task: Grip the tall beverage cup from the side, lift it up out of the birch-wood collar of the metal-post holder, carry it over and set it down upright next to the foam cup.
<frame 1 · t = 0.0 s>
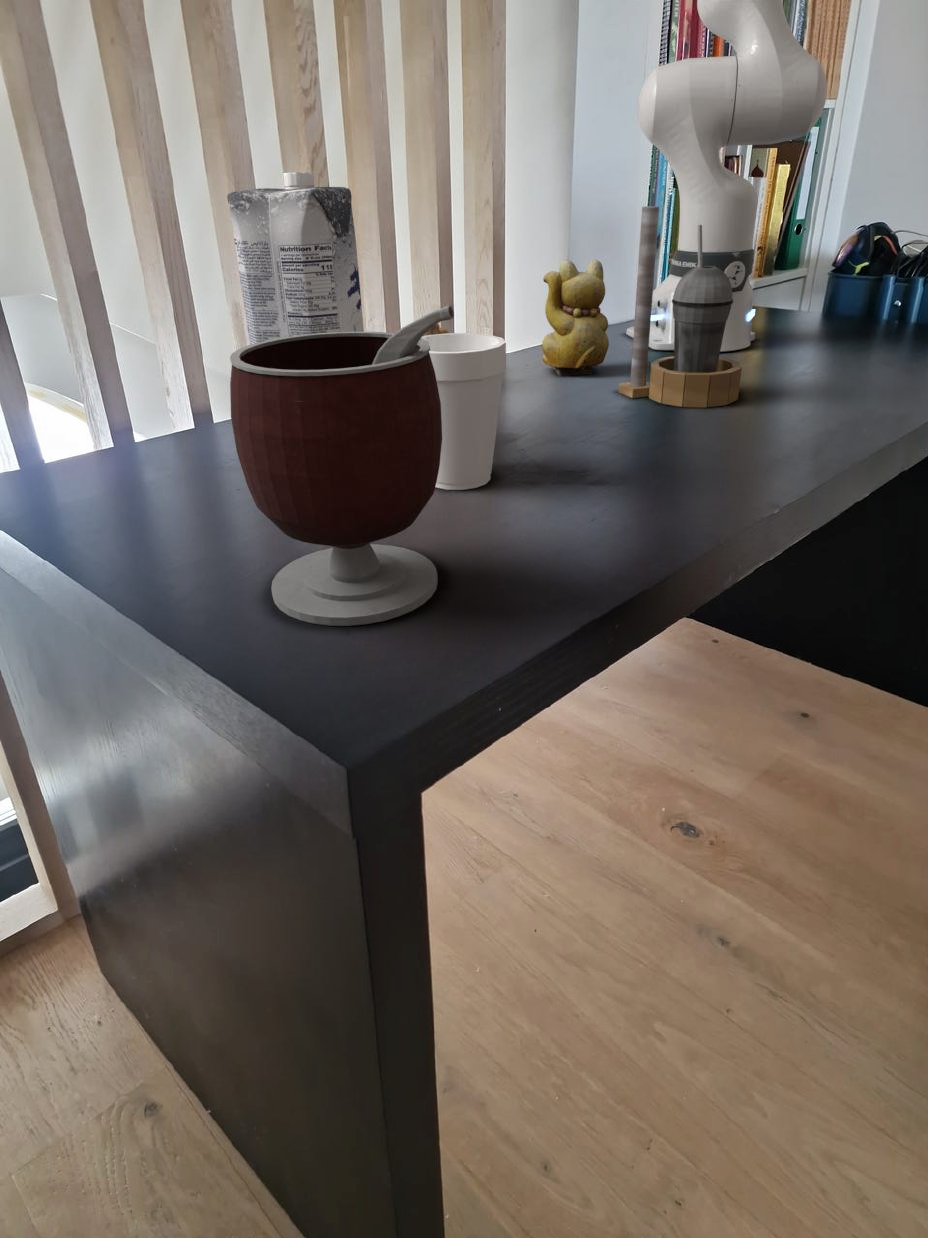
holder: (692, 396, 107), on the table
decorative figurine: (576, 373, 120), on the table
beverage cup: (692, 397, 107), resting in holder
lion figurine: (437, 382, 118), on the table
juice carton: (321, 455, 90), on the table
foam cup: (458, 480, 82), on the table
mate gourd: (365, 589, 62), on the table
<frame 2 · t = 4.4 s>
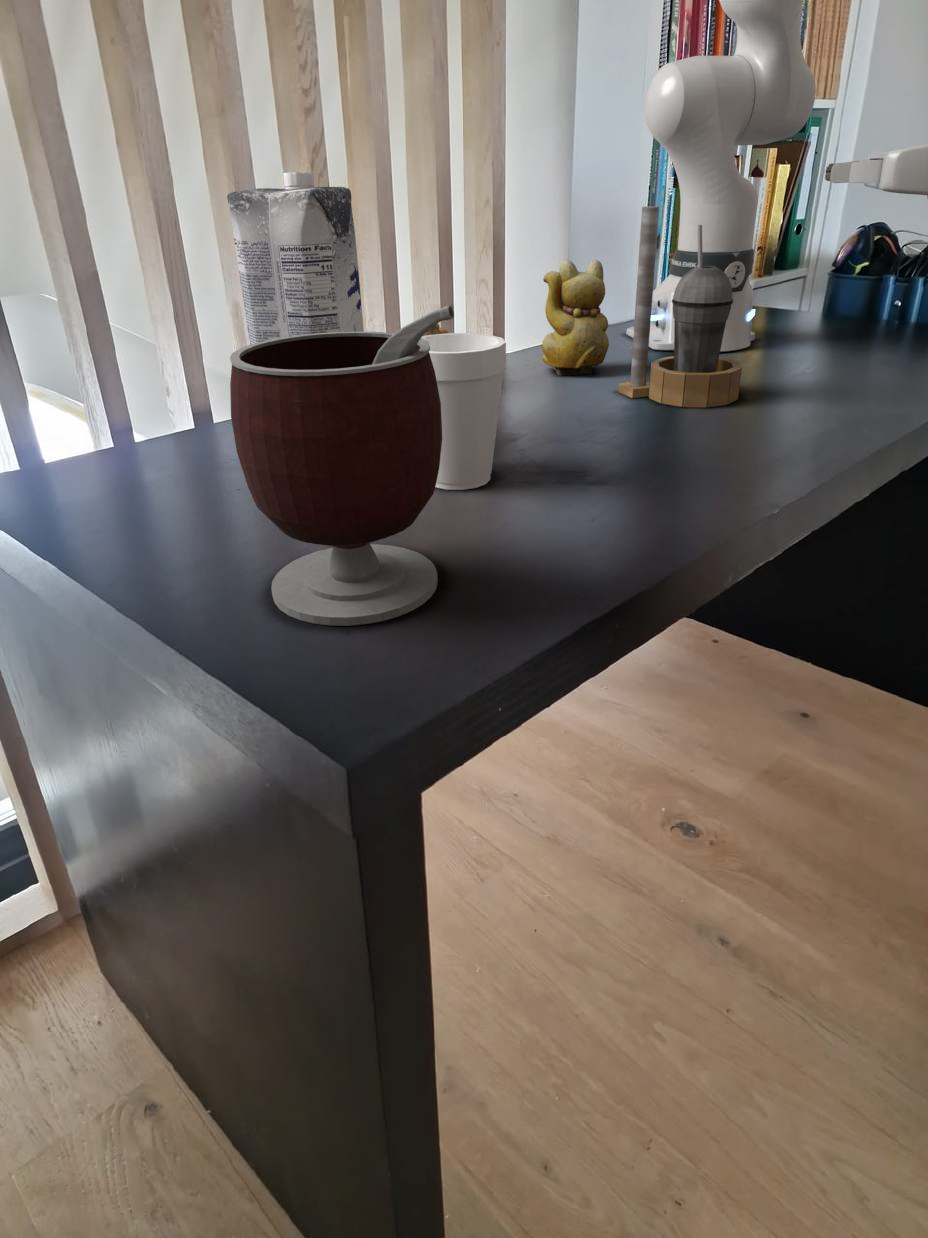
hand: (828, 172, 91), 25 cm above the table, tool horizontal, fingers open, 8 cm apart
nothing on the table moved.
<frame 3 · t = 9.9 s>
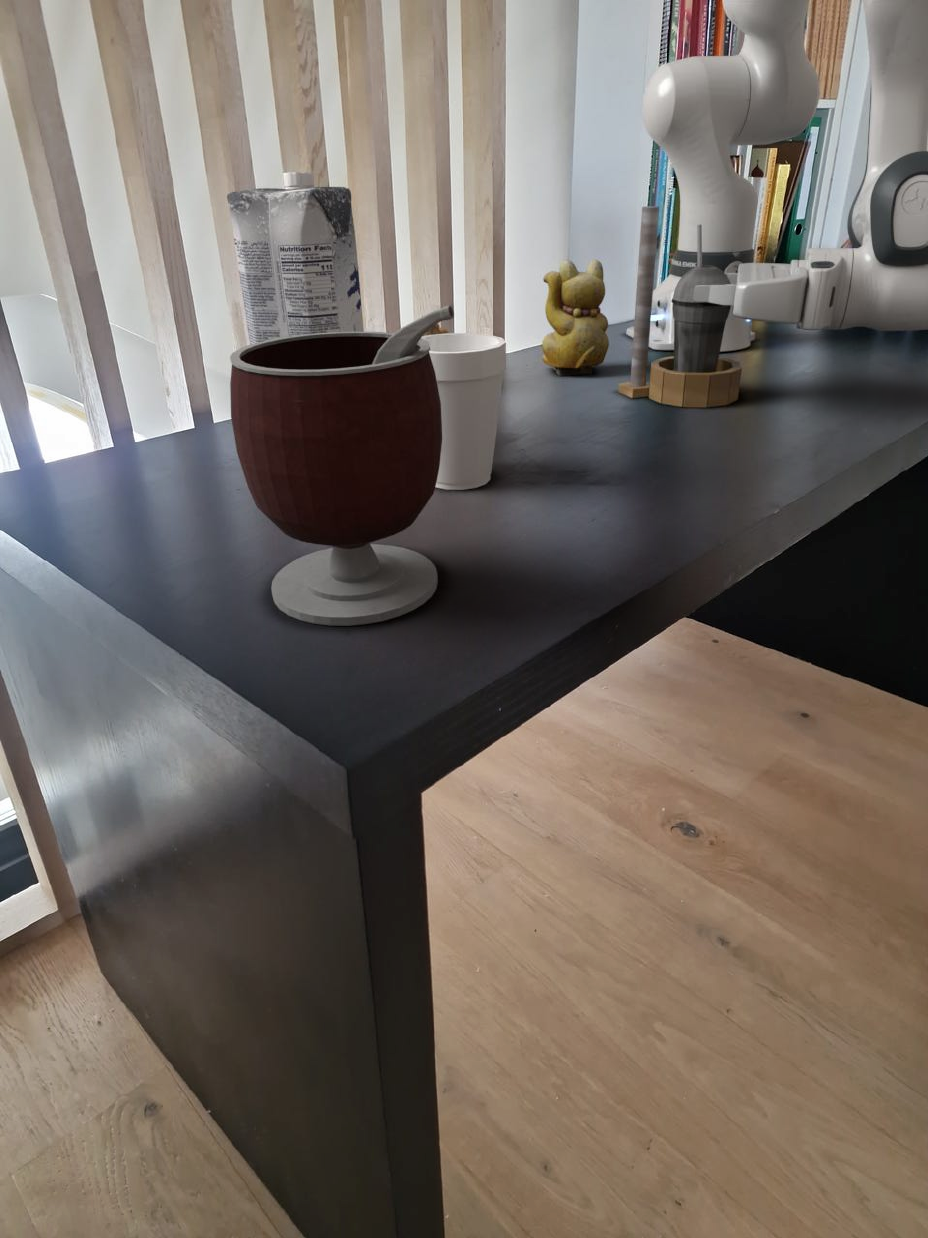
hand: (695, 287, 100), 13 cm above the table, tool horizontal, fingers closed on beverage cup, 7 cm apart
beverage cup: (692, 397, 107), resting in holder, touching gripper
everything else where it was.
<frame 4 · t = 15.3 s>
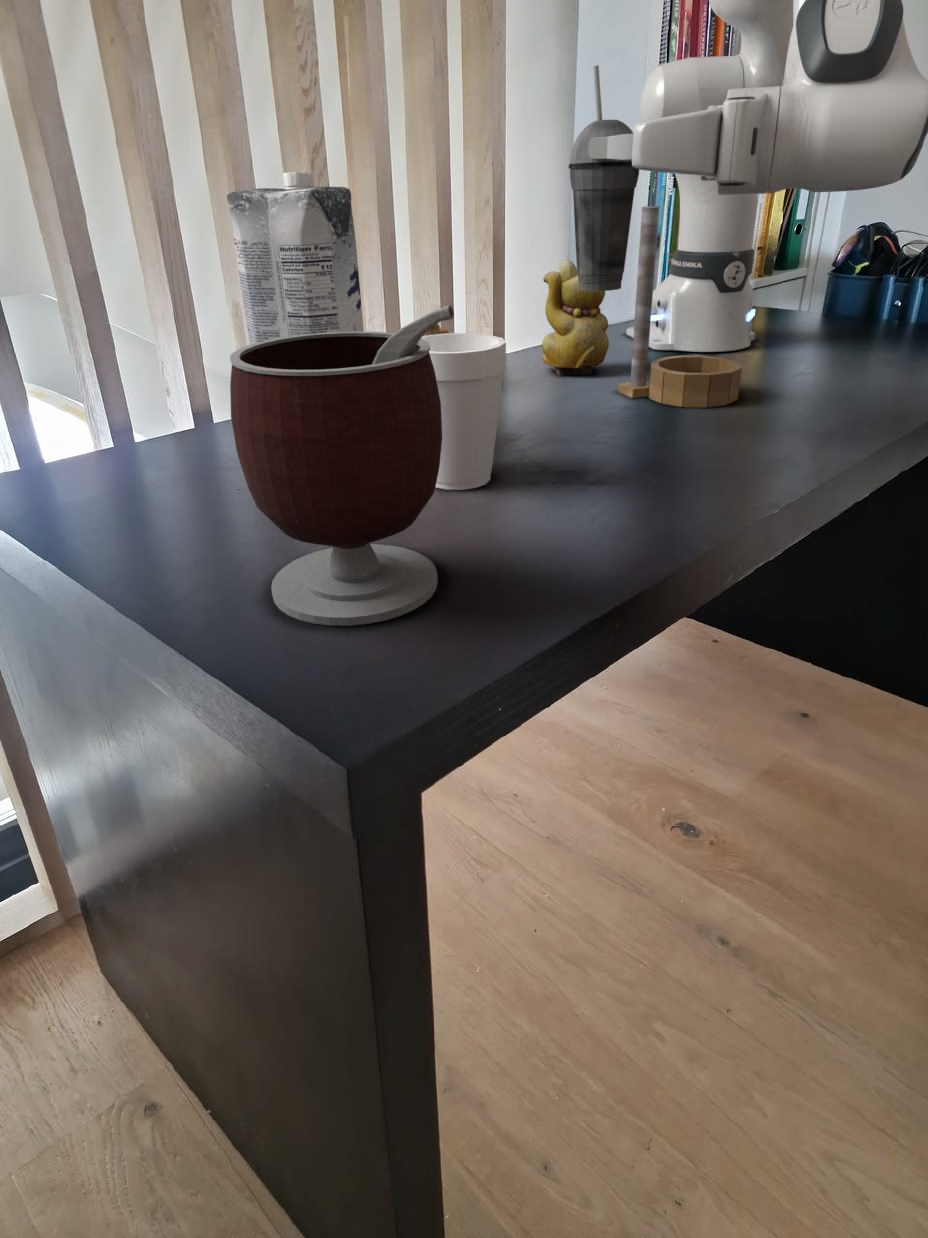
hand: (595, 148, 83), 28 cm above the table, tool horizontal, fingers closed on beverage cup, 7 cm apart
beverage cup: (599, 290, 89), point 15 cm above the table, touching gripper
everything else where it was.
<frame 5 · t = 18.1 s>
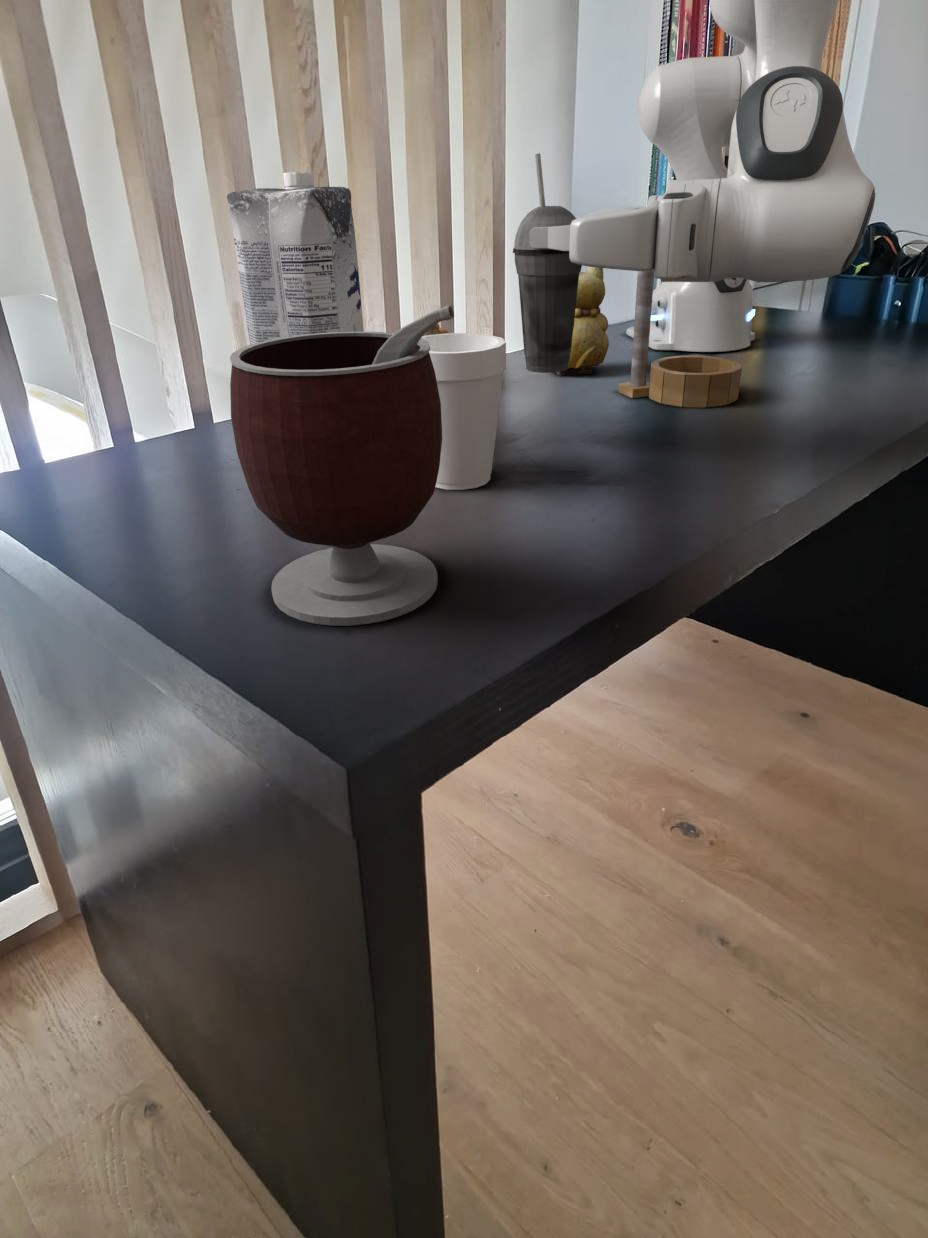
hand: (539, 233, 82), 21 cm above the table, tool horizontal, fingers closed on beverage cup, 7 cm apart
beverage cup: (547, 369, 88), point 8 cm above the table, touching gripper
everything else where it was.
when the fingers open (13 cm above the table, at t = 20.8 s): beverage cup stays where it is, on the table.
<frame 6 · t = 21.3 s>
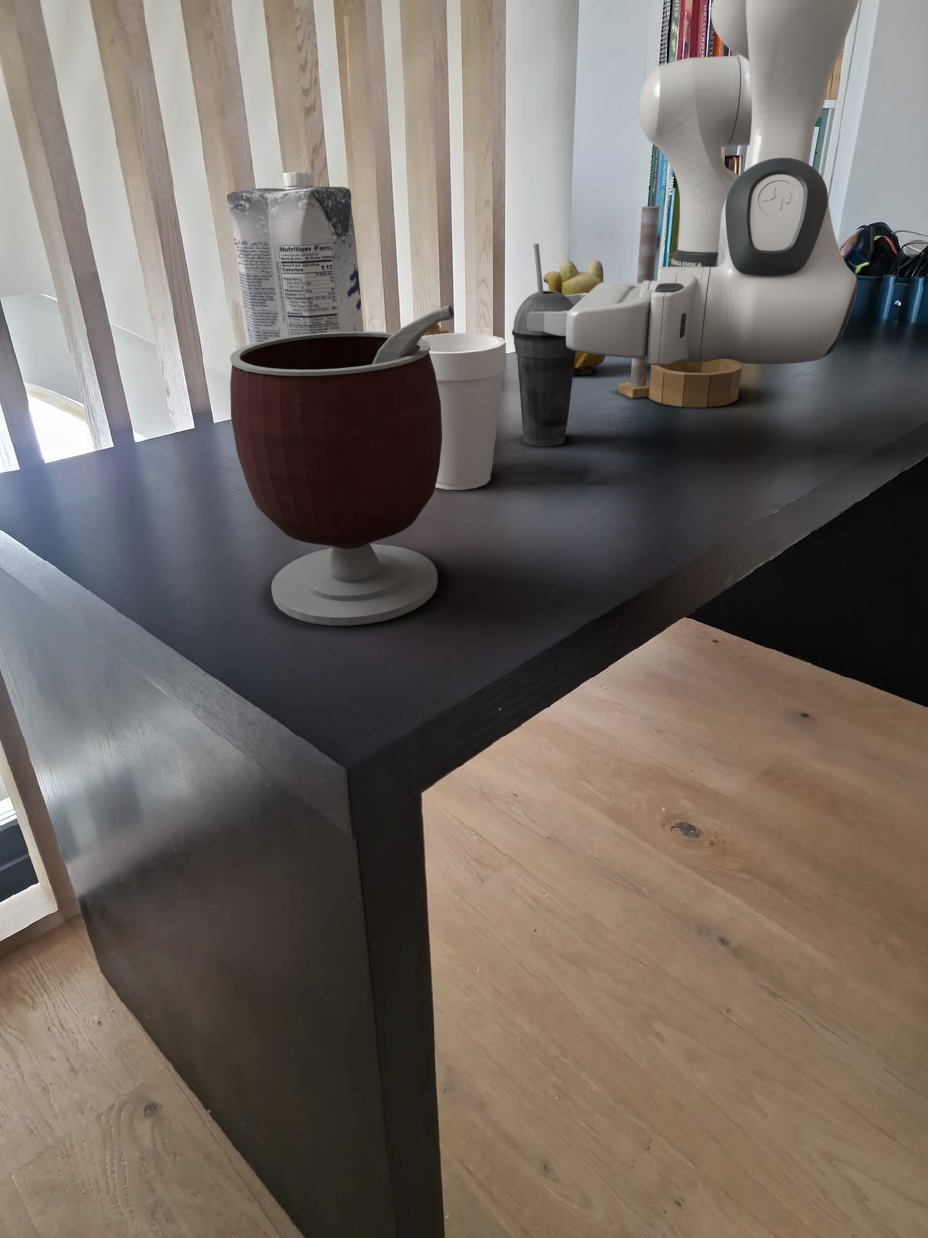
hand: (538, 312, 86), 13 cm above the table, tool horizontal, fingers open, 8 cm apart
beverage cup: (544, 441, 92), on the table
everything else where it was.
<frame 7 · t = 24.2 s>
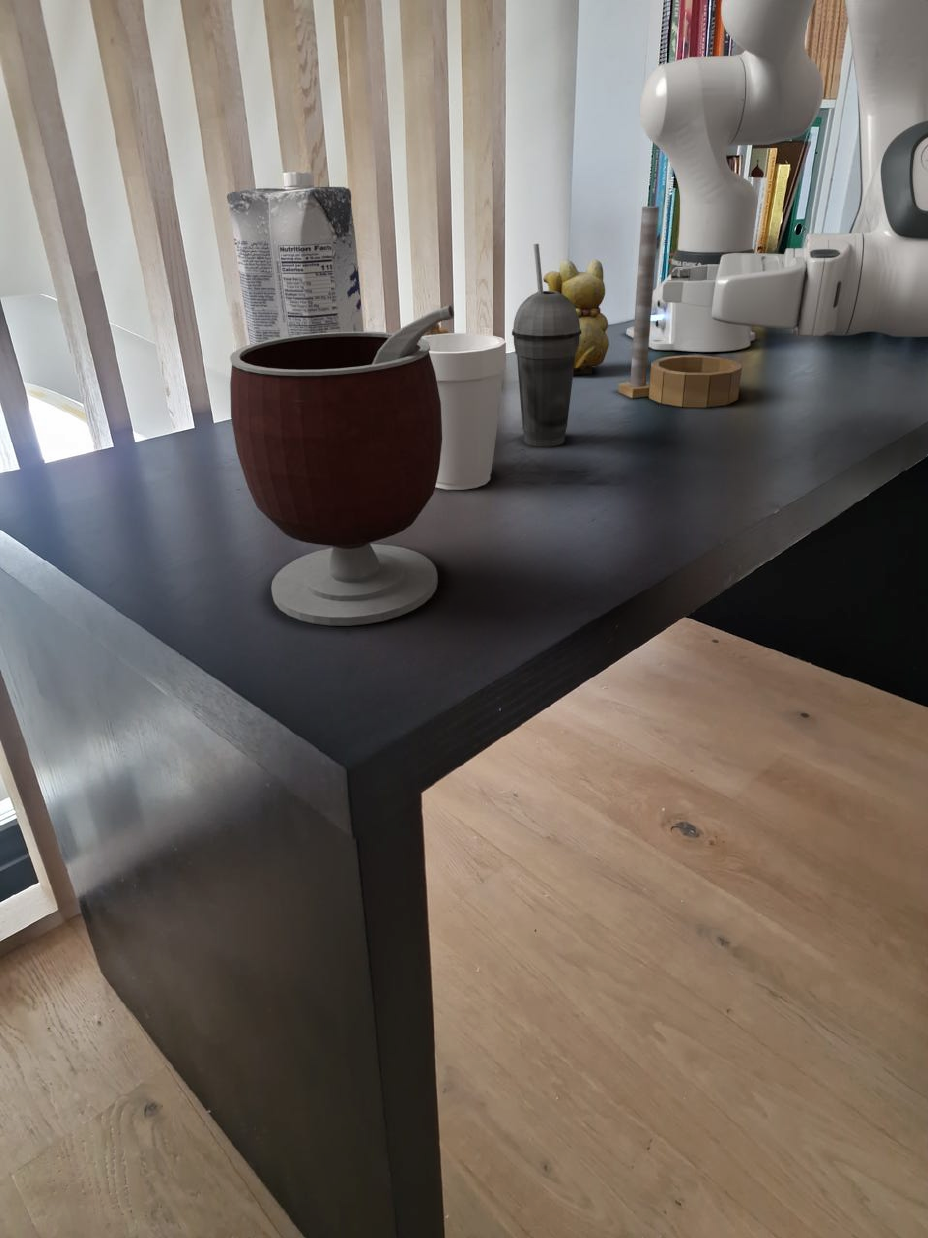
hand: (667, 283, 81), 16 cm above the table, tool horizontal, fingers open, 8 cm apart
nothing on the table moved.
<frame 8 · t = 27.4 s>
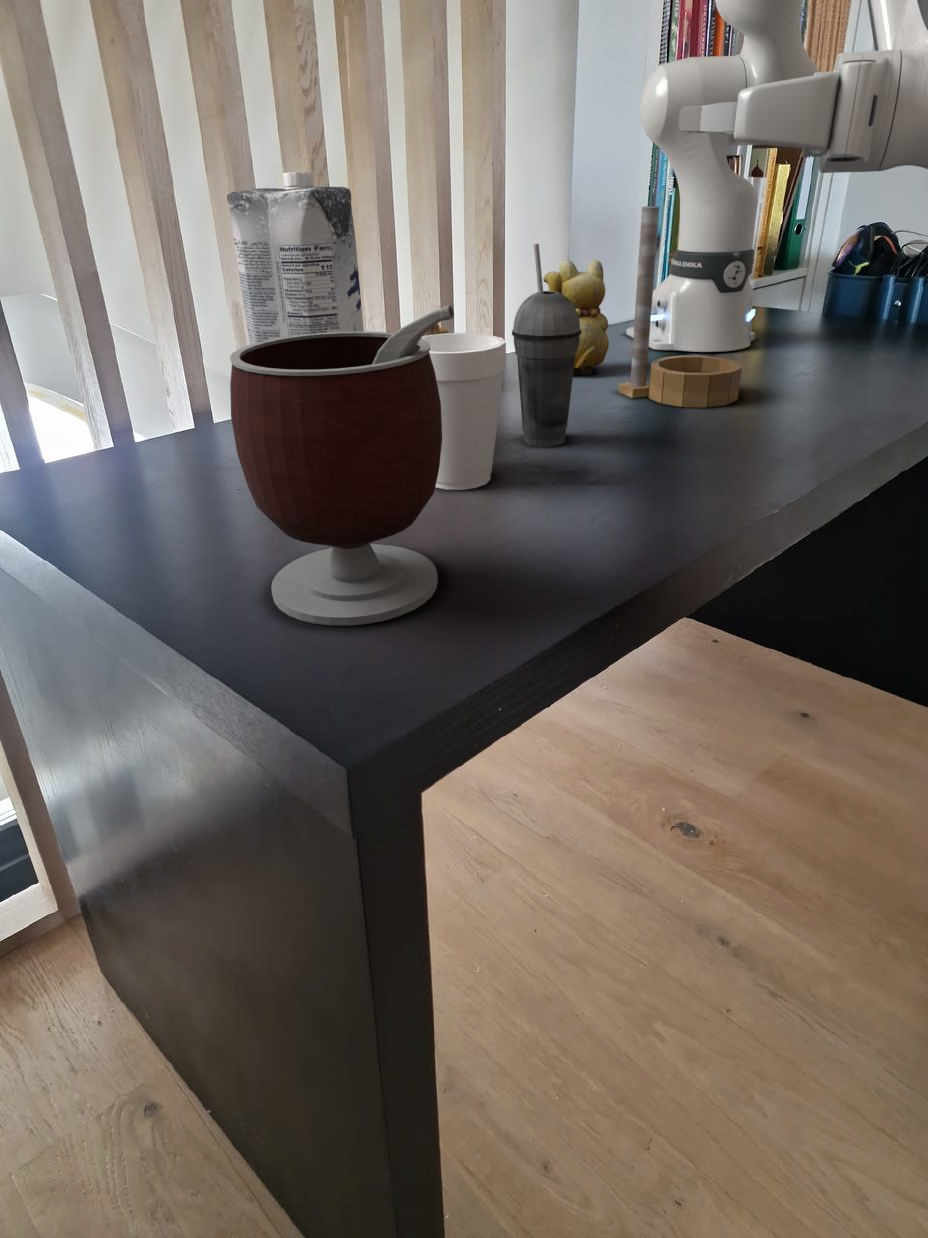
hand: (683, 121, 74), 30 cm above the table, tool horizontal, fingers open, 8 cm apart
nothing on the table moved.
at the end: beverage cup 15.1 cm from the foam cup (horizontally); beverage cup tilted 0°; beverage cup on the table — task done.
